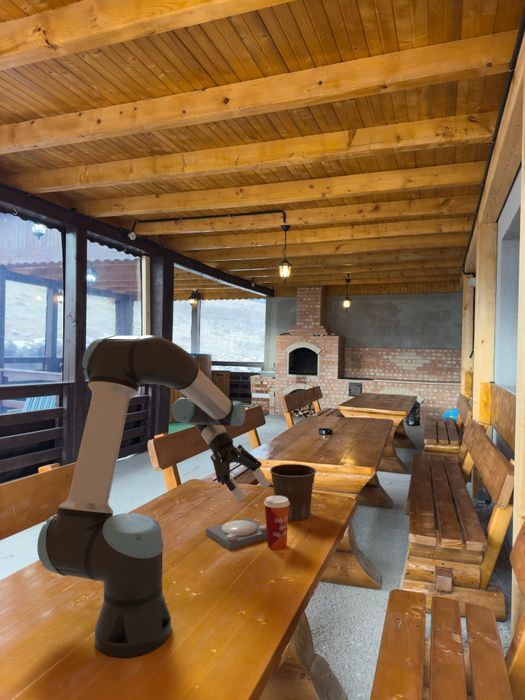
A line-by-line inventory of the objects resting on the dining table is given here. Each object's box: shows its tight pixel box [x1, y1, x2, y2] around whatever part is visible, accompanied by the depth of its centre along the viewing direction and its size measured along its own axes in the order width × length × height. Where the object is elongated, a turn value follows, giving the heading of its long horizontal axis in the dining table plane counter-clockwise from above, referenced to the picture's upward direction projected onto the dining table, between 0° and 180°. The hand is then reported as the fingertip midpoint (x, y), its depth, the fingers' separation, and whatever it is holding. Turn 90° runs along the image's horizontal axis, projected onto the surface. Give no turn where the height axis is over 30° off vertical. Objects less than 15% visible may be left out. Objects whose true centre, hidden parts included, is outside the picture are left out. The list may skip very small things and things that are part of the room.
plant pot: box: [269, 463, 317, 522], centre depth 165 cm, size 16×16×16 cm
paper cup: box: [263, 495, 290, 551], centre depth 140 cm, size 8×8×14 cm
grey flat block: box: [205, 517, 267, 551], centre depth 147 cm, size 16×14×3 cm
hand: (254, 492), depth 145 cm, fingers open, 13 cm apart
